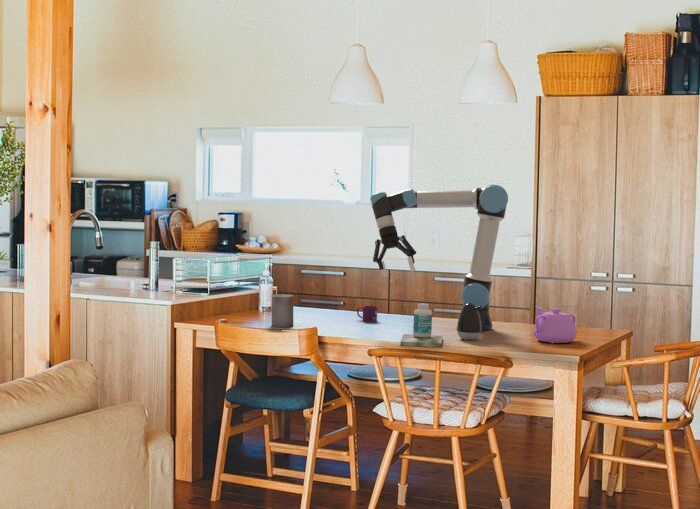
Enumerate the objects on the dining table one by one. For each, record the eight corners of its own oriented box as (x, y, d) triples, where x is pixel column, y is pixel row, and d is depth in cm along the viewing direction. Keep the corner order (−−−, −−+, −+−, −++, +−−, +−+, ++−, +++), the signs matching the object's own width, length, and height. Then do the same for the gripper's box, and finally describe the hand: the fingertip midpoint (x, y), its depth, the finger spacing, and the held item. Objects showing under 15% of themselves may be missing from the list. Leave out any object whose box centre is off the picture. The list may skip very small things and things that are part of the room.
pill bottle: (417, 338, 378) (418, 305, 377) (410, 335, 385) (411, 303, 384) (434, 337, 381) (435, 304, 380) (426, 335, 388) (427, 302, 387)
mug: (372, 322, 432) (372, 308, 432) (353, 320, 438) (354, 306, 438) (379, 321, 438) (380, 306, 438) (361, 319, 444) (362, 304, 443)
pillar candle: (286, 323, 422) (286, 290, 421) (297, 326, 414) (297, 292, 413) (267, 325, 417) (267, 291, 416) (278, 328, 409) (278, 294, 408)
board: (442, 339, 387) (442, 335, 387) (441, 347, 367) (441, 343, 367) (403, 337, 389) (403, 334, 389) (400, 345, 369) (400, 341, 369)
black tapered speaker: (475, 342, 382) (476, 305, 381) (452, 339, 387) (453, 303, 386) (485, 339, 390) (486, 302, 389) (462, 336, 396) (463, 300, 395)
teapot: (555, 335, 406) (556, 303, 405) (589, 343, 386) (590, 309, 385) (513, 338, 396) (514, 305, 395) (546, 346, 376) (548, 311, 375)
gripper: (408, 226, 417) (420, 271, 413) (357, 234, 407) (370, 280, 402) (415, 220, 410) (428, 267, 406) (364, 228, 400) (377, 276, 396)
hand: (399, 274), depth 404 cm, fingers open, 13 cm apart
